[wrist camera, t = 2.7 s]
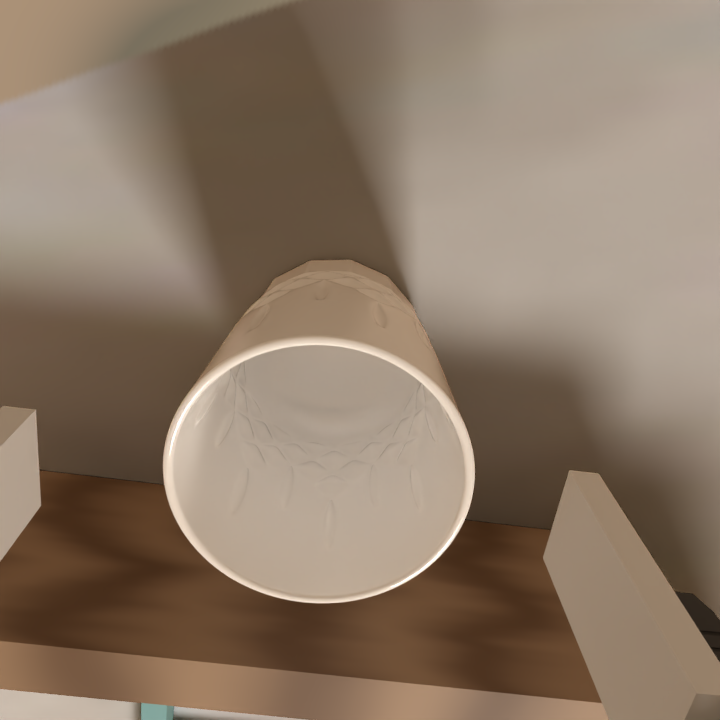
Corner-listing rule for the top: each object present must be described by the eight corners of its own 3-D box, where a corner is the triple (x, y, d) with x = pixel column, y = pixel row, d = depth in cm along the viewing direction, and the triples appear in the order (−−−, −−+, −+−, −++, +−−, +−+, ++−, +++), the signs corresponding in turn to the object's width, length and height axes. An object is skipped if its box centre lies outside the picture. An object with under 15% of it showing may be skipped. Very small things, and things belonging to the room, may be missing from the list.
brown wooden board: (-14, 503, 29) (-166, 672, 21) (-18, 463, 28) (-177, 622, 20) (611, 574, 30) (707, 759, 22) (624, 538, 30) (728, 716, 21)
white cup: (353, 463, 28) (349, 648, 19) (194, 359, 26) (104, 507, 17) (476, 323, 26) (540, 457, 16) (310, 197, 24) (279, 269, 15)
